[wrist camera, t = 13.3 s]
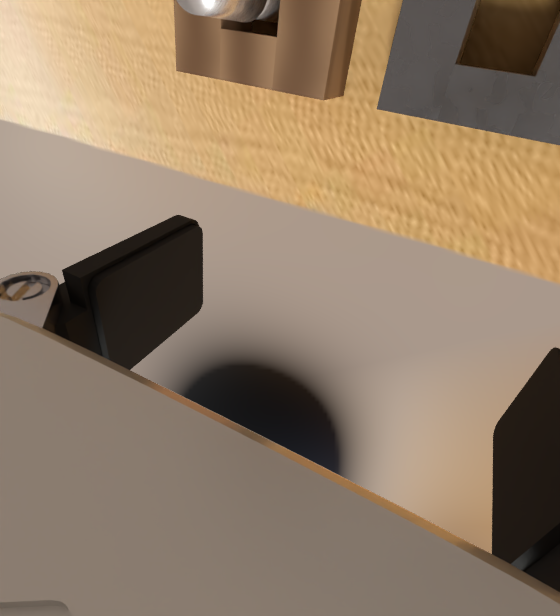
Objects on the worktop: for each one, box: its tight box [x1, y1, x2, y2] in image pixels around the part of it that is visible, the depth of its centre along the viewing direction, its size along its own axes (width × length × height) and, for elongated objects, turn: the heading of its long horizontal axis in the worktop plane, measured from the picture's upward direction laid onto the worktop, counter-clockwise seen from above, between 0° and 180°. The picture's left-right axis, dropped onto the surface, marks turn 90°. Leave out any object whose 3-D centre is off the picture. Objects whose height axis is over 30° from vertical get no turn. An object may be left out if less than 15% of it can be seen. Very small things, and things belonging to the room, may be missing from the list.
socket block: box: [377, 0, 560, 145], centre depth 25 cm, size 14×12×4 cm
